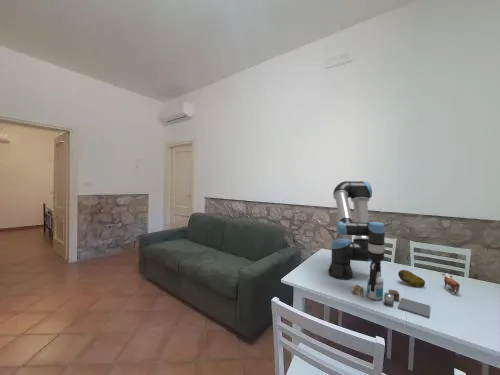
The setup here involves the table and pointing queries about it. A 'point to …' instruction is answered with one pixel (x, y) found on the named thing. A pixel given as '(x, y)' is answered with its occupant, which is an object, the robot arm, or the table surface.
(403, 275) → the potato
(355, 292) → the beech cube
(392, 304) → the grey egg shape
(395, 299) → the walnut cube
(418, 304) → the coaster
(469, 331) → the table surface
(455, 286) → the bull figurine
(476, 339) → the table surface
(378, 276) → the pill bottle
